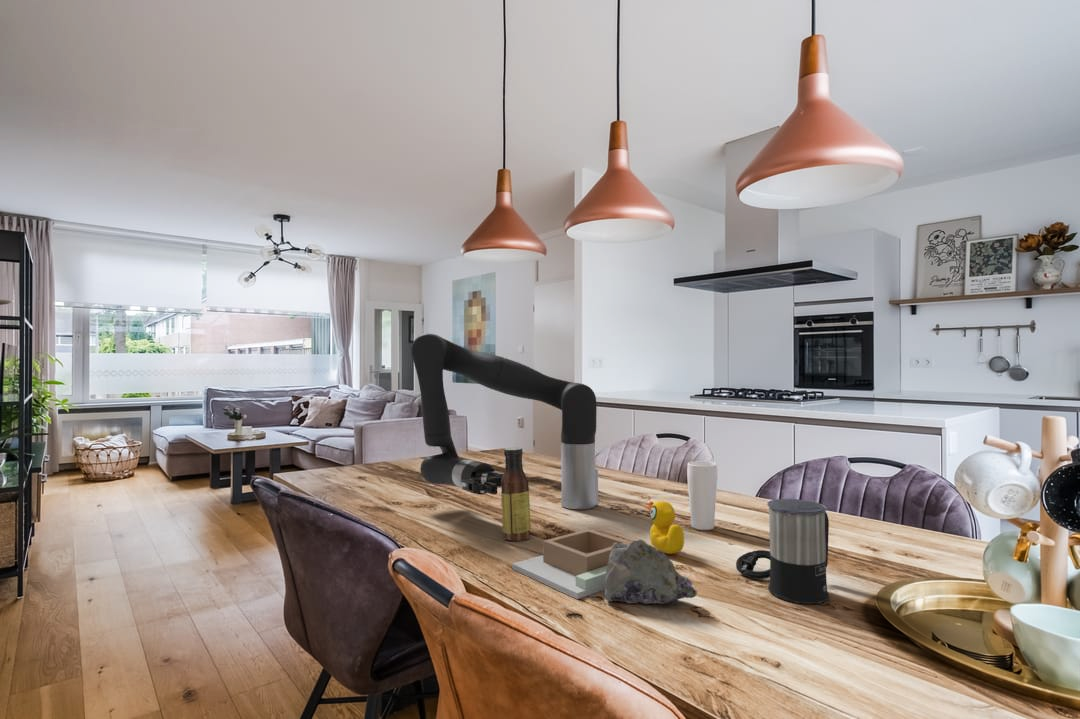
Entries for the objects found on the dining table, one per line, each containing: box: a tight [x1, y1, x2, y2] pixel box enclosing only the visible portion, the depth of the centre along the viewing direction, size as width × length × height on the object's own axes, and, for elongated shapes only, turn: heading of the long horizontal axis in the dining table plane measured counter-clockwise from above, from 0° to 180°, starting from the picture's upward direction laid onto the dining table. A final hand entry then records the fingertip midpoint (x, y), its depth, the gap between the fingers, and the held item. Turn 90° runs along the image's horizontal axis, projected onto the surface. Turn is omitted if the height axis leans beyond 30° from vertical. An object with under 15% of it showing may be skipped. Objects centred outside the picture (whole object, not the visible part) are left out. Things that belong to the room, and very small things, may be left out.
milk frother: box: [735, 498, 830, 605], centre depth 98 cm, size 14×16×15 cm
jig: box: [511, 528, 632, 600], centre depth 107 cm, size 22×18×5 cm
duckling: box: [648, 500, 685, 555], centre depth 116 cm, size 11×5×10 cm, turn 19°
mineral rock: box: [604, 538, 698, 605], centre depth 91 cm, size 13×11×10 cm
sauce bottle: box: [500, 446, 532, 542], centre depth 126 cm, size 6×6×20 cm
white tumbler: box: [686, 460, 718, 531], centre depth 133 cm, size 7×7×15 cm
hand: (511, 487), depth 127 cm, fingers open, 8 cm apart
